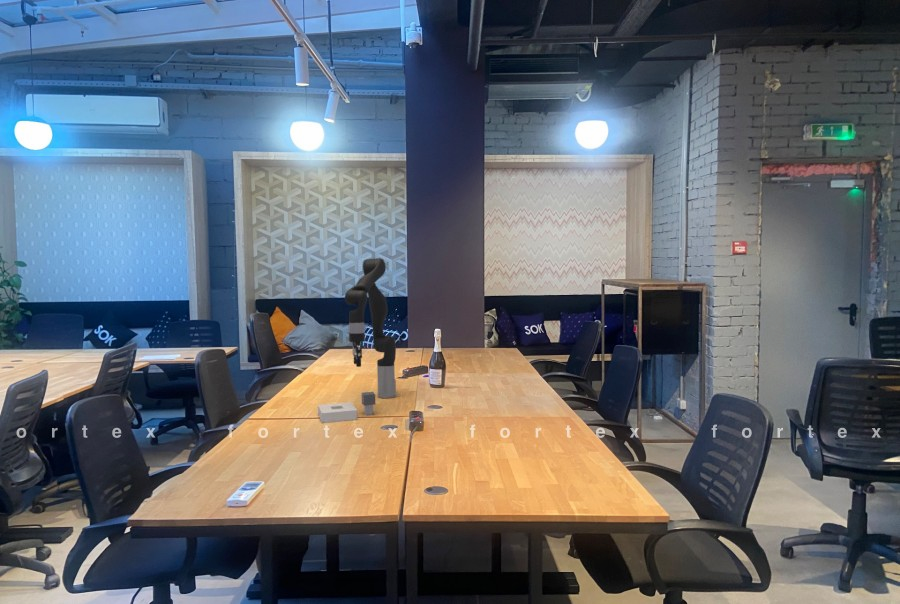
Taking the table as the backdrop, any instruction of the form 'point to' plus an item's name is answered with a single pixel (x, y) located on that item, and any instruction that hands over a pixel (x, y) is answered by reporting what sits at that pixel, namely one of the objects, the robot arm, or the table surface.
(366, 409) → the plug
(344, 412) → the socket block
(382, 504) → the table surface
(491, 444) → the table surface
